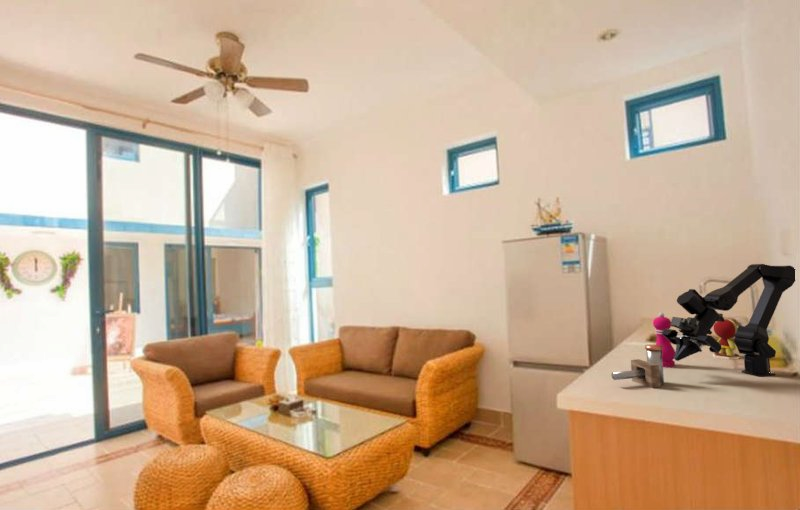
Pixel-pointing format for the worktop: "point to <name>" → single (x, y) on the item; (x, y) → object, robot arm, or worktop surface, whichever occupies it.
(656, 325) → the pepper mill
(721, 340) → the figurine
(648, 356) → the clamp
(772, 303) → the robot arm
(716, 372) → the worktop surface
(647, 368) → the tan wooden block
